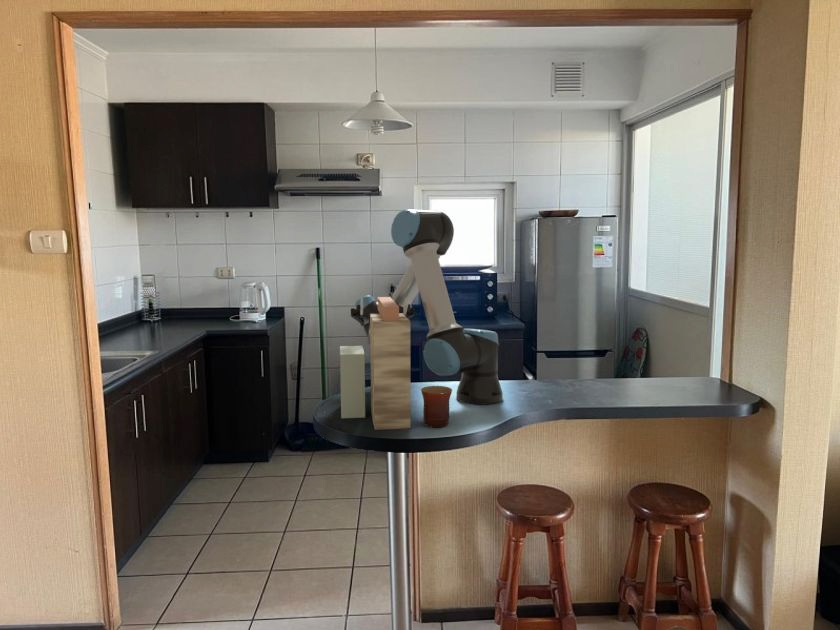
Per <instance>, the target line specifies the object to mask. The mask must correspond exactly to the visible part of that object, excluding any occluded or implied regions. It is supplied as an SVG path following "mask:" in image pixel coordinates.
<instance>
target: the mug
mask: <svg viewBox="0 0 840 630" xmlns="http://www.w3.org/2000/svg"><path fill="white" fill-rule="evenodd" d="M420 391H421V395H422V399H423V408H422V412H423V413H422V414H423V416H422V418H423V423H424V425H426V426H427V427H429V428H435V429H441V428H445V427H446V426H448V424H449V423H450V399H451V395H452V392H453V389H452V388H450V387H448V386H444V385H428V386H424V387H422V388H421V389H420Z"/></svg>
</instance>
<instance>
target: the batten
mask: <svg viewBox="0 0 840 630" xmlns="http://www.w3.org/2000/svg"><path fill="white" fill-rule="evenodd" d="M391 297H392V296H377V302H378V311H379V313H380V315H381V316H382V318H383V320H384V321H399V306H398V305H397V304H396V303H395V302H394V301H393V300H392V298H391Z"/></svg>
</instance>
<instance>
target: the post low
mask: <svg viewBox="0 0 840 630" xmlns="http://www.w3.org/2000/svg"><path fill="white" fill-rule="evenodd" d="M339 359H340V360H339V361H340V362H339V364H340V368H339V369H340V371H339V372H340V409H341V410H340V418H341V419H359V418H360V419H361V418H366V382H365V381H366V379H365V377H366V375H365V373H366V372H365V369H366V368H365V367H366V366H365V365H366V364H365V361H366V360H365V351H364V346H363V345H340V346H339Z"/></svg>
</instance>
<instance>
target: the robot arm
mask: <svg viewBox="0 0 840 630" xmlns="http://www.w3.org/2000/svg"><path fill="white" fill-rule="evenodd" d="M454 231H455V228H454V223H453V222H452V219H451V218H450V216H448V215H447V214H446V213H445V212H442V211H440V210H429V209H426V210H425V209H415V208H410V209H403V210H401V211H400V212H398V213H397V214H396V215H395V217H394V218H393V221H392V223H391V227H390V233H391V238H392V241H393V243H394V244H395V245H396V246H398V247H399V248H402V251H403V254H404V257H405V258H408V259H410V262H411V263H410V265H409V266H408V268H407V270H406V272H405V273H404V275H403V277H402V278H401V280H400V282H399V284H398V285H397V287H396V288H395V290H394V292H393V294H392V295H391V296H390V297H391V298H392V300H393V301H394V302H395V303H396V304H397V305H398V306H399V313H403V314H404V315H405V316H406V317H407V318H408V319H409V320H410V319H411V318H413V317H415V315H416V314H415V307H413V306H412V303H413V301H414V299H416V297H417V295H418V293H419V295H420V299H421V303H422V306H423V310H424V314H425V319H426V321H427V325H428V329H429V331H428V333H427V335H426V339H427V340H426V341H427V342H426V343H425V345H424V346H423V349H424V350H423V351H422V352H423V359H424V362H425V364H426V366H427V368H428V369H429V370H430V371H431V372H433V373H435V374H436V375H437V376H443V377H444V376H453V375H456V374H459V373H461V377H460V381H459V383H458V386H457V389H456V396H455V397H456V399H457V401H459V402H461V403H465V404H469V405H493V404H497V403H500V402H502V401H503V390H502V387H501V383H500V380H499V377H498V367H499V366H498V365H499V345H500V343H499V336H498V333H497V332H496V331H492V330H488V329H478V328H463V326H462V325H460V324H458V323H457V321H456V319H455V315H454V311H453V306H452V303H451V300H450V297H449V293H448V288H447V285H446V282H445V278H444V275H443V270H442V267H441V264H440V260H439V259H440V258H441V256H445V255H446V254H447V252H448V251H449V248H450V247H451V245H452V243H453V240H454V235H455V233H454ZM370 314H380V313H379V311H378V301H376V299H375V297H374V296H372V295H369V294H368V295H364V296H362V297H360V298H358V299H357V300H356V301H355V302H354V307H353V308H350V317H351V318H352V319H354V320H356V322H358V323H359V325H360V326H361V327H362V328H363V330H364V332H365V336H366V337H367V343H368V344H367V345H368V347H370Z"/></svg>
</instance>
